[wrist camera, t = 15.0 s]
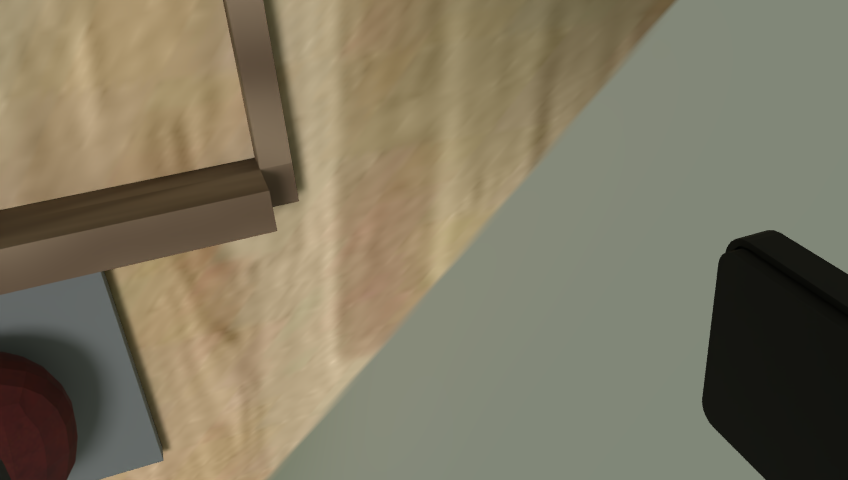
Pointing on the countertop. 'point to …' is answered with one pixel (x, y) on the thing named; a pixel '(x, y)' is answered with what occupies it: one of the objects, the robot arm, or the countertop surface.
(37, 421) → the potato
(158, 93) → the countertop surface
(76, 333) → the mat
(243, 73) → the holder
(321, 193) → the countertop surface
